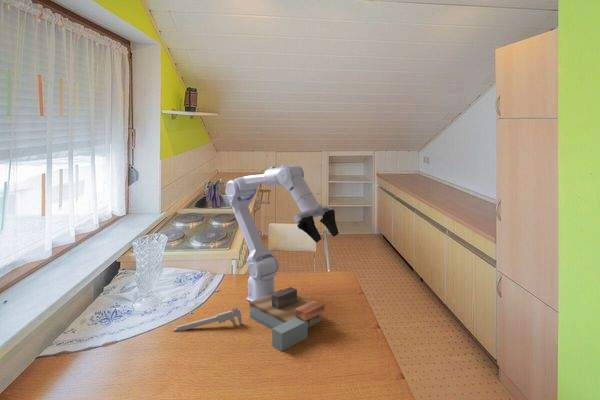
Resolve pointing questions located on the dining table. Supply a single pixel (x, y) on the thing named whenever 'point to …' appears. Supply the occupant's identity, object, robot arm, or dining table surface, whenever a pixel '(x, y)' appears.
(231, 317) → the caliper
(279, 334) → the blue grey tray
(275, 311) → the lid
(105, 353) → the dining table surface
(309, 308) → the salmon pink block
